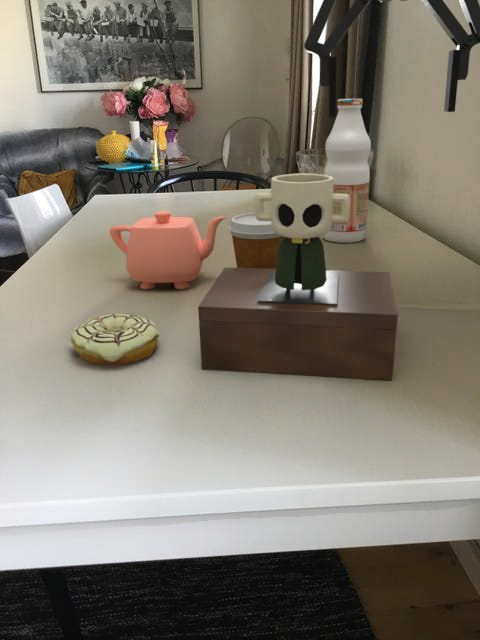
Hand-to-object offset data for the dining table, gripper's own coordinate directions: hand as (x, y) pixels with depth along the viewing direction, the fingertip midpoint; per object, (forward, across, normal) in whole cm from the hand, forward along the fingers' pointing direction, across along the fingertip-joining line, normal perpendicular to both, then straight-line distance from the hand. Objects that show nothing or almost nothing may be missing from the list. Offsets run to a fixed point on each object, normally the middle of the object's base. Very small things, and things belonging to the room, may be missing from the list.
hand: (389, 114), depth 68 cm
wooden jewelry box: (+27, -10, -8) cm, 30 cm away
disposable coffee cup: (+27, -18, +12) cm, 35 cm away
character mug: (+19, -10, -8) cm, 23 cm away
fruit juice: (+27, -4, +48) cm, 55 cm away
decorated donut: (+27, -34, -12) cm, 45 cm away
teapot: (+27, -34, +16) cm, 46 cm away
